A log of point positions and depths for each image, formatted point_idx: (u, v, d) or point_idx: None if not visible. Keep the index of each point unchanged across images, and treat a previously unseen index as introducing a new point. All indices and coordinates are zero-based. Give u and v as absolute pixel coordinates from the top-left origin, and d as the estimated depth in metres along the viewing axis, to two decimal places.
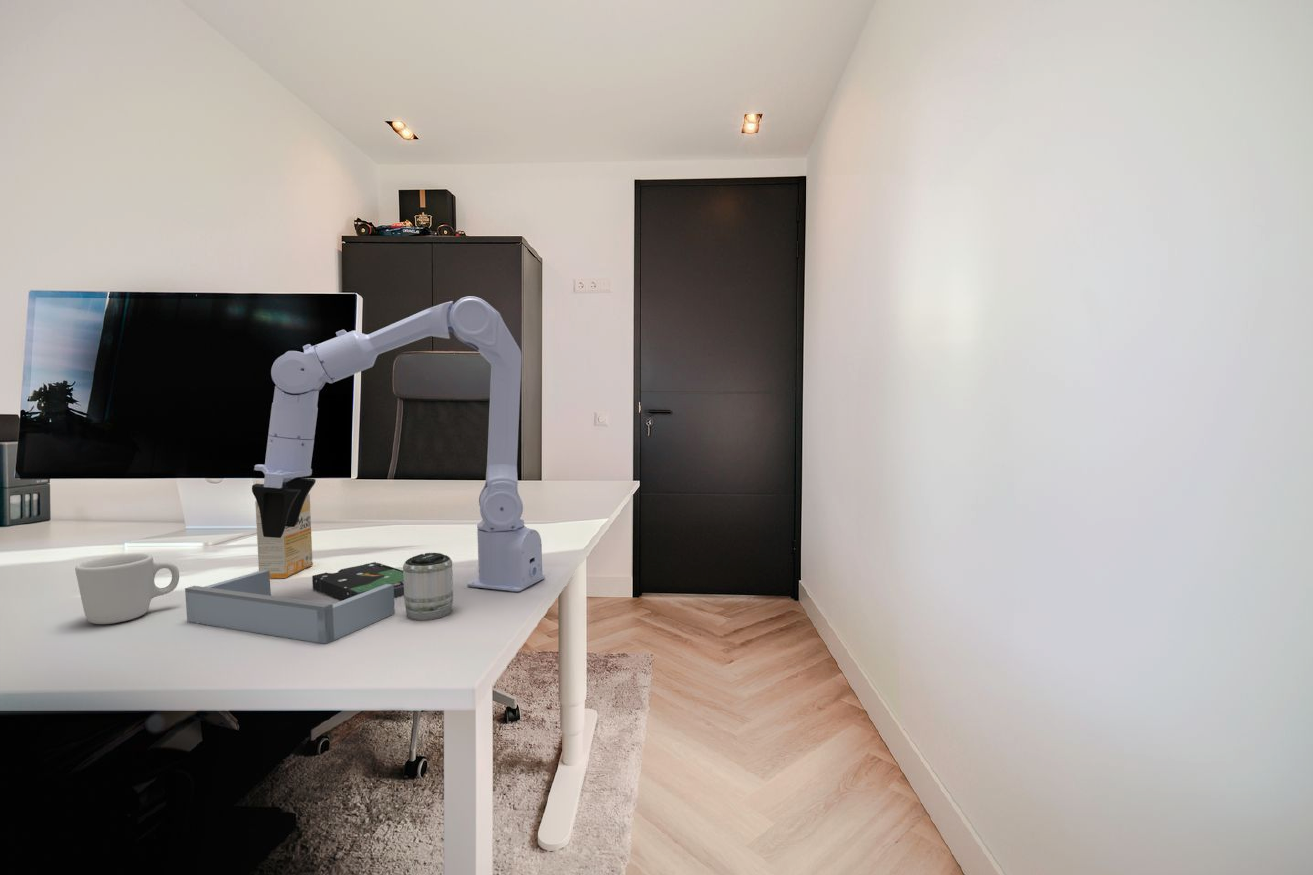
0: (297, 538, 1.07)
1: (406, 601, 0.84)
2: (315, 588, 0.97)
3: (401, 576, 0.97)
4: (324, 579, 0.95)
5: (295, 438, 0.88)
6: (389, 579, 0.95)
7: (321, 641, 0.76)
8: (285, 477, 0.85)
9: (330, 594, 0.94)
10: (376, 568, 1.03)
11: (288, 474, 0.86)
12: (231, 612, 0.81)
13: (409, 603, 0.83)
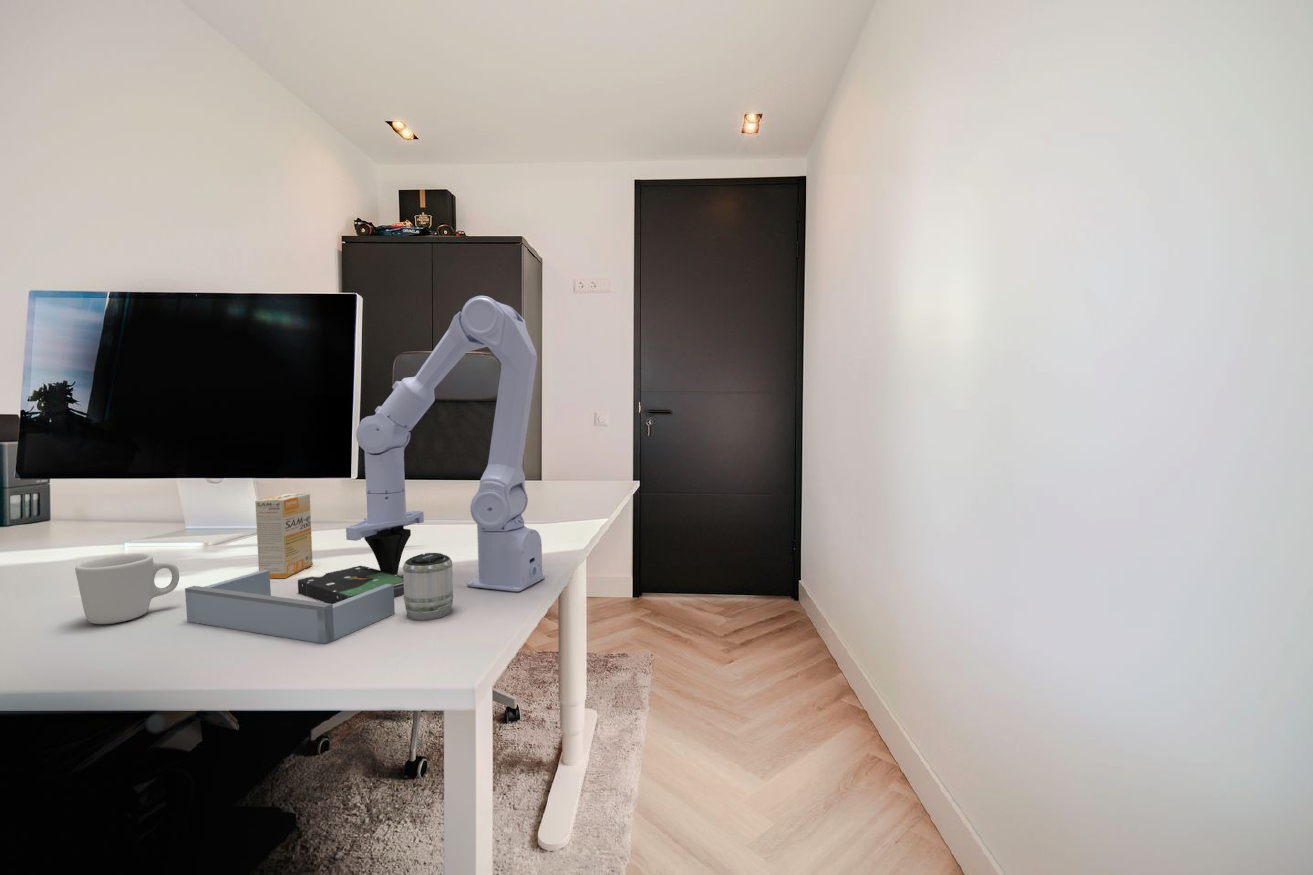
0: (297, 538, 1.07)
1: (406, 601, 0.84)
2: (301, 592, 0.95)
3: (391, 579, 0.96)
4: (311, 583, 0.94)
5: (378, 493, 0.98)
6: (379, 582, 0.94)
7: (321, 641, 0.76)
8: (363, 530, 0.95)
9: (318, 598, 0.93)
10: (363, 571, 1.01)
11: (367, 527, 0.96)
12: (231, 612, 0.81)
13: (409, 603, 0.83)
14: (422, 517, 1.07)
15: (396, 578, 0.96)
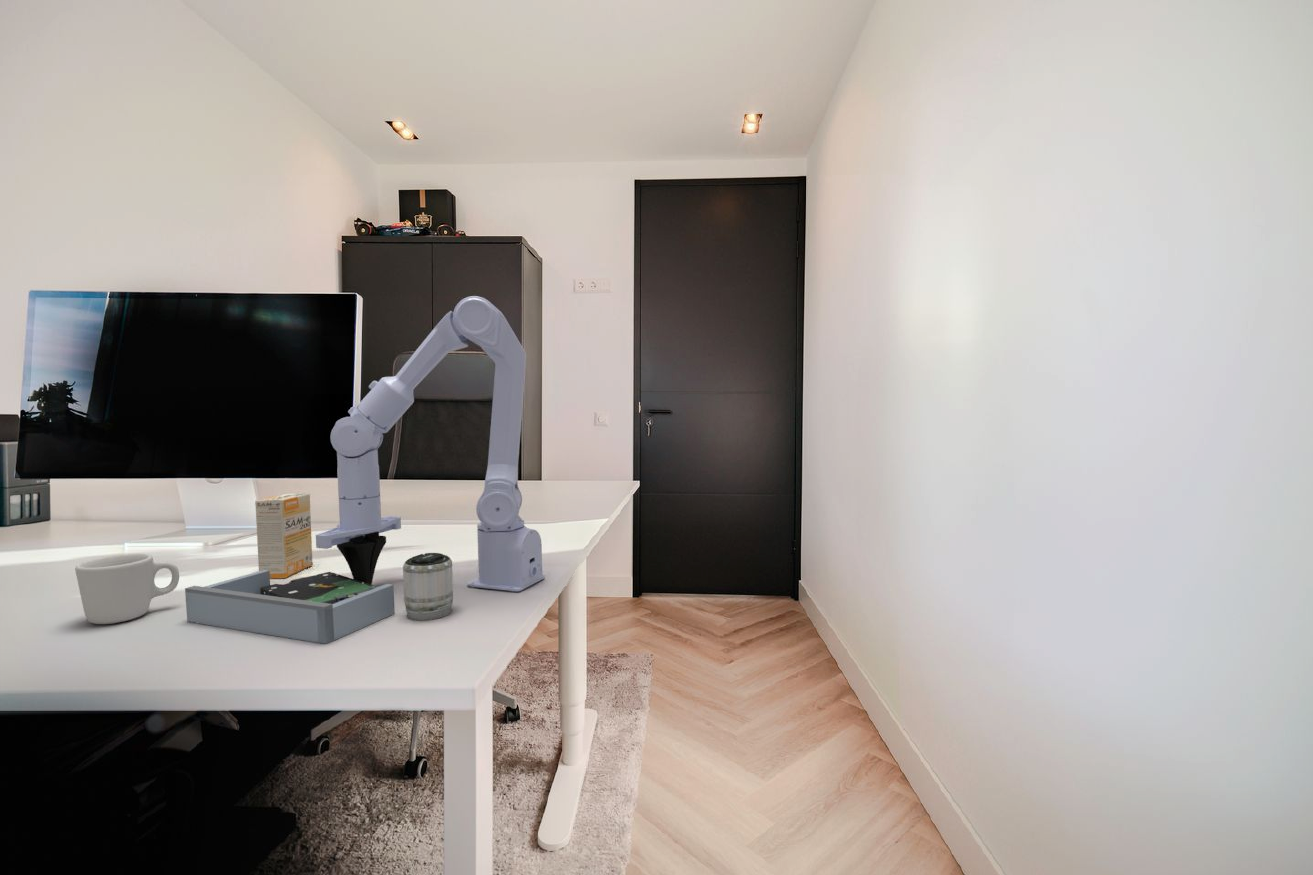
0: (297, 538, 1.07)
1: (406, 601, 0.84)
2: None
3: (357, 587, 0.92)
4: (273, 591, 0.90)
5: (351, 498, 0.93)
6: (343, 590, 0.90)
7: (321, 641, 0.76)
8: (334, 537, 0.90)
9: None
10: (330, 578, 0.97)
11: (339, 534, 0.91)
12: (231, 612, 0.81)
13: (409, 603, 0.83)
14: (399, 523, 1.02)
15: (362, 586, 0.92)
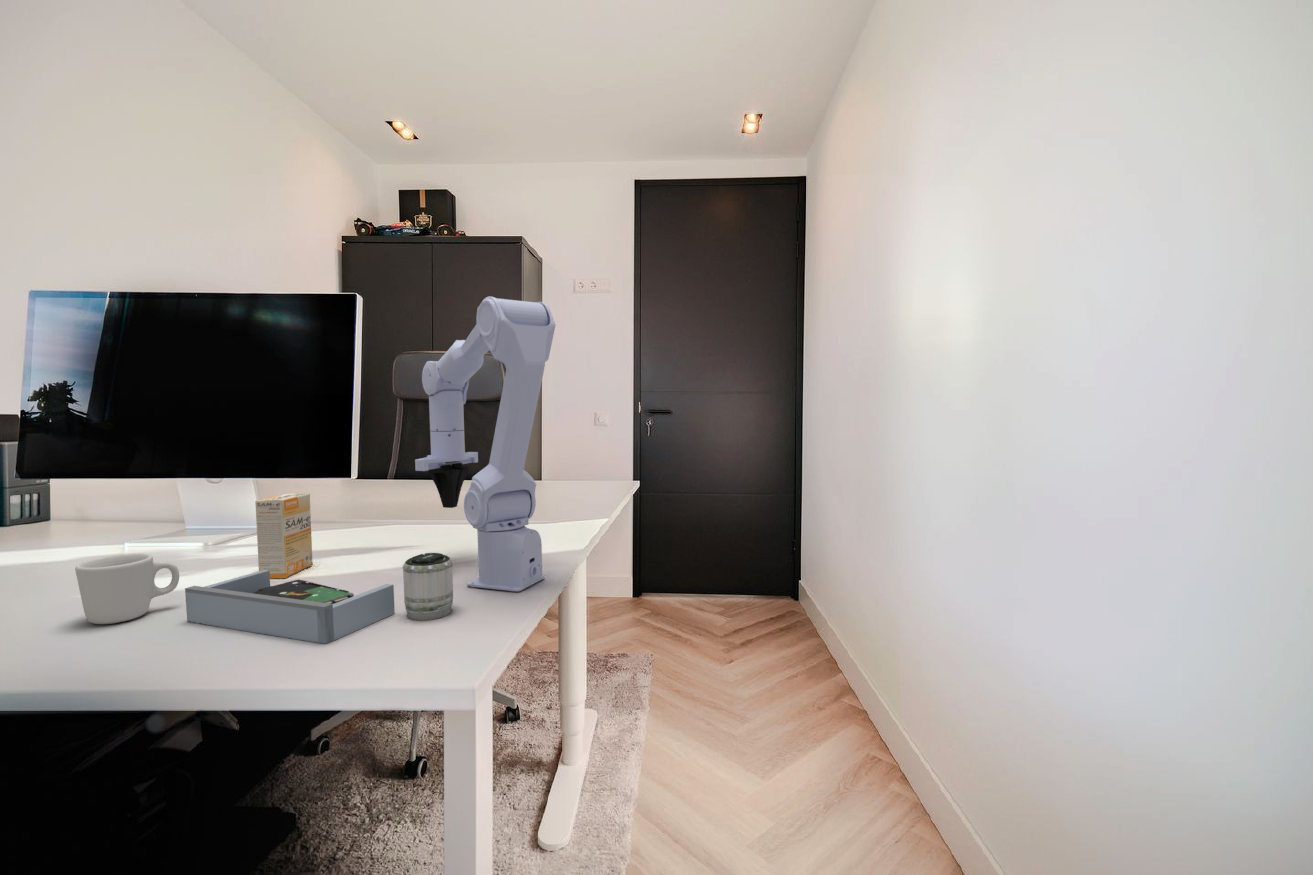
0: (297, 538, 1.07)
1: (406, 601, 0.84)
2: None
3: (332, 594, 0.89)
4: None
5: (442, 430, 1.09)
6: (319, 597, 0.87)
7: (321, 641, 0.76)
8: (430, 462, 1.06)
9: None
10: (301, 586, 0.93)
11: (434, 459, 1.06)
12: (231, 612, 0.81)
13: (409, 603, 0.83)
14: (476, 457, 1.18)
15: (338, 592, 0.89)
